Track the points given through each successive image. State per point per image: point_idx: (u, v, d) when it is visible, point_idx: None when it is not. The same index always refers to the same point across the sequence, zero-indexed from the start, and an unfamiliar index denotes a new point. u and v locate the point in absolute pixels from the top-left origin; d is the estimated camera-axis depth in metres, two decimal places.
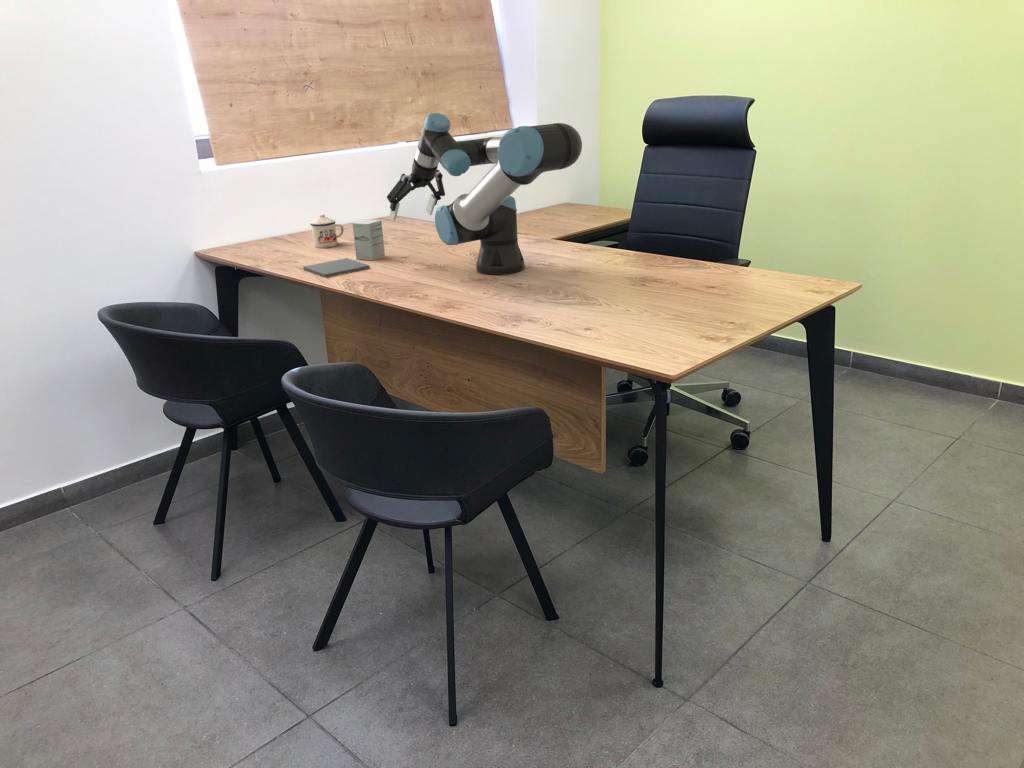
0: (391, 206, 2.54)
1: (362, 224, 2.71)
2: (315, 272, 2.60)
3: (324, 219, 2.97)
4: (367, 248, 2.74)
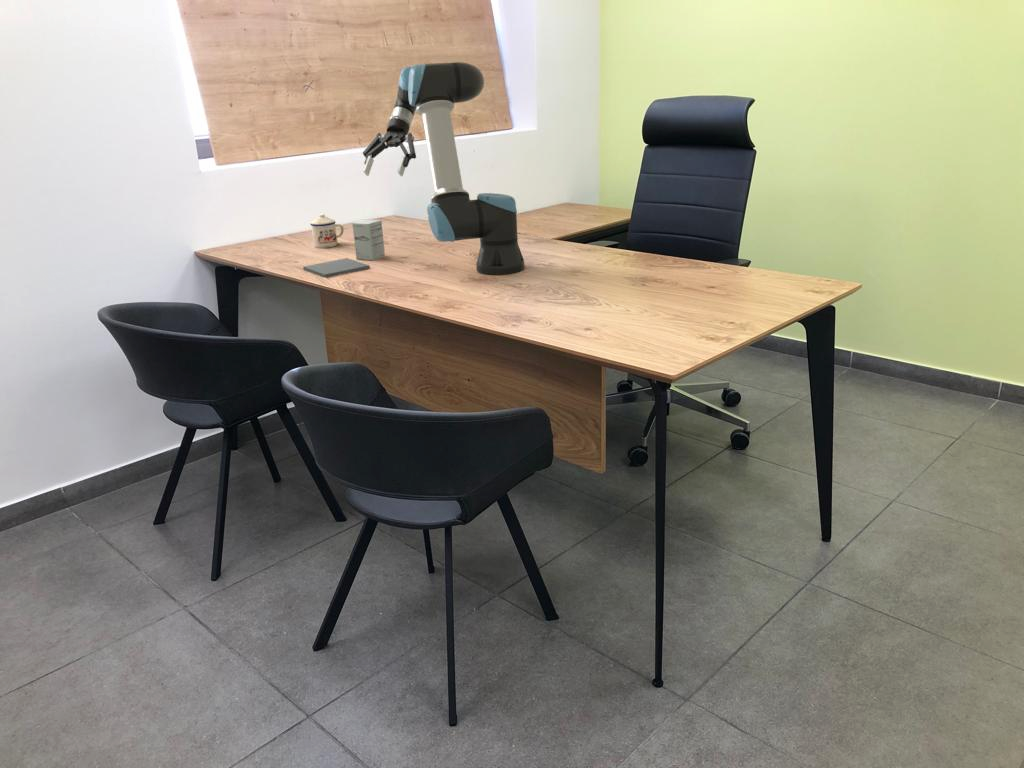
0: None
1: (362, 224, 2.71)
2: (315, 272, 2.60)
3: (324, 219, 2.97)
4: (367, 248, 2.74)
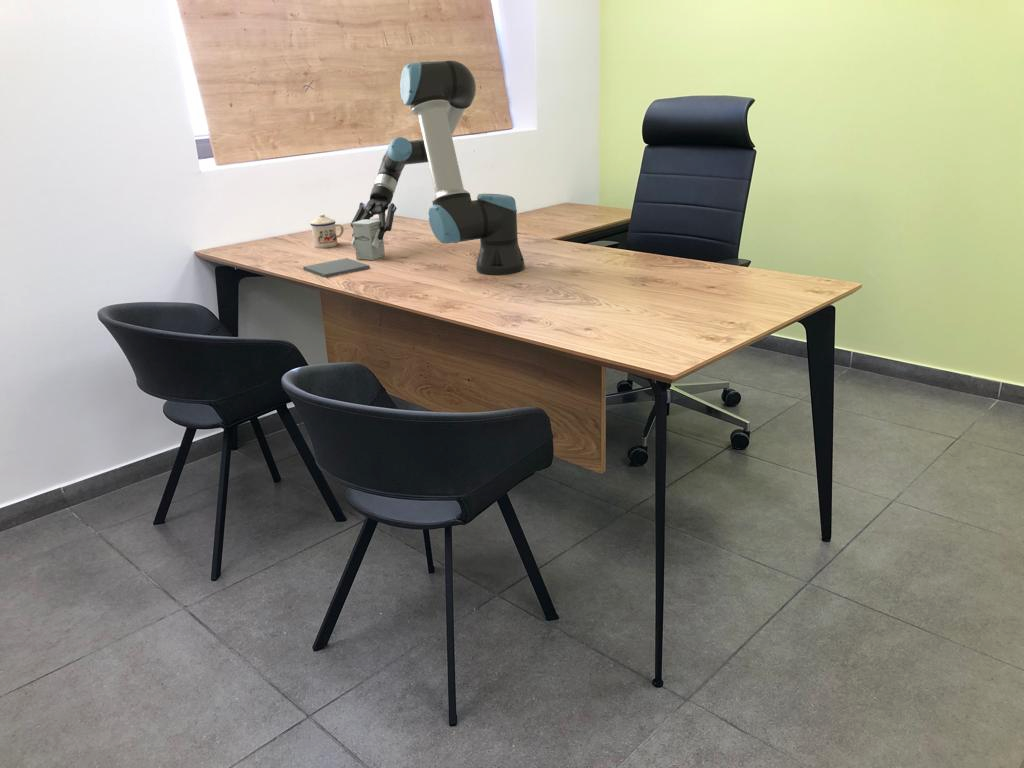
0: None
1: (362, 224, 2.71)
2: (315, 272, 2.60)
3: (324, 219, 2.97)
4: (367, 248, 2.74)
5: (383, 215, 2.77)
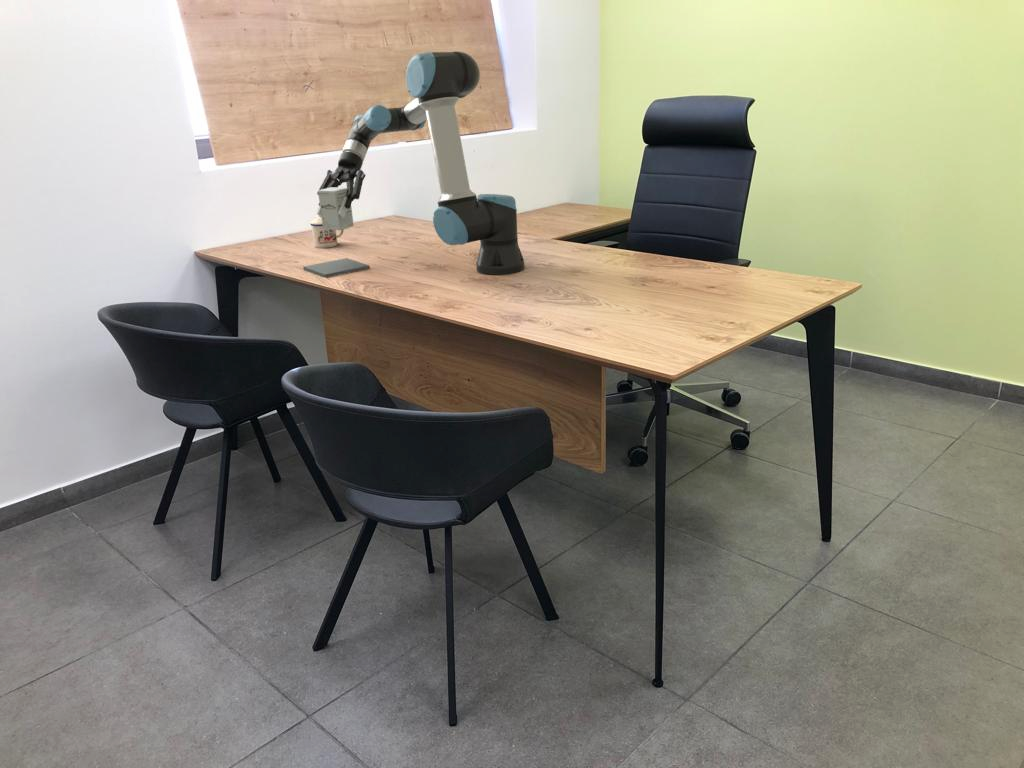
0: None
1: (328, 191, 2.57)
2: (315, 272, 2.60)
3: None
4: (334, 217, 2.59)
5: (351, 183, 2.63)
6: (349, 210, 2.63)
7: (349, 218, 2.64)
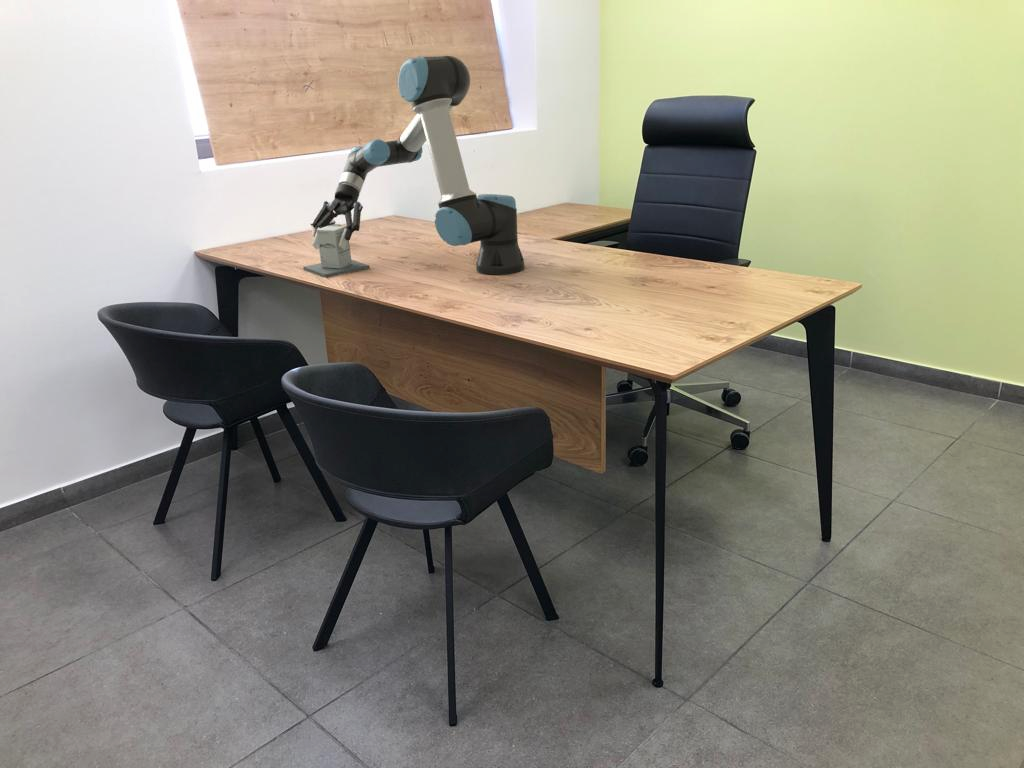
0: None
1: (327, 231, 2.57)
2: (315, 272, 2.60)
3: None
4: (333, 256, 2.60)
5: (349, 215, 2.63)
6: (348, 248, 2.64)
7: (348, 256, 2.64)
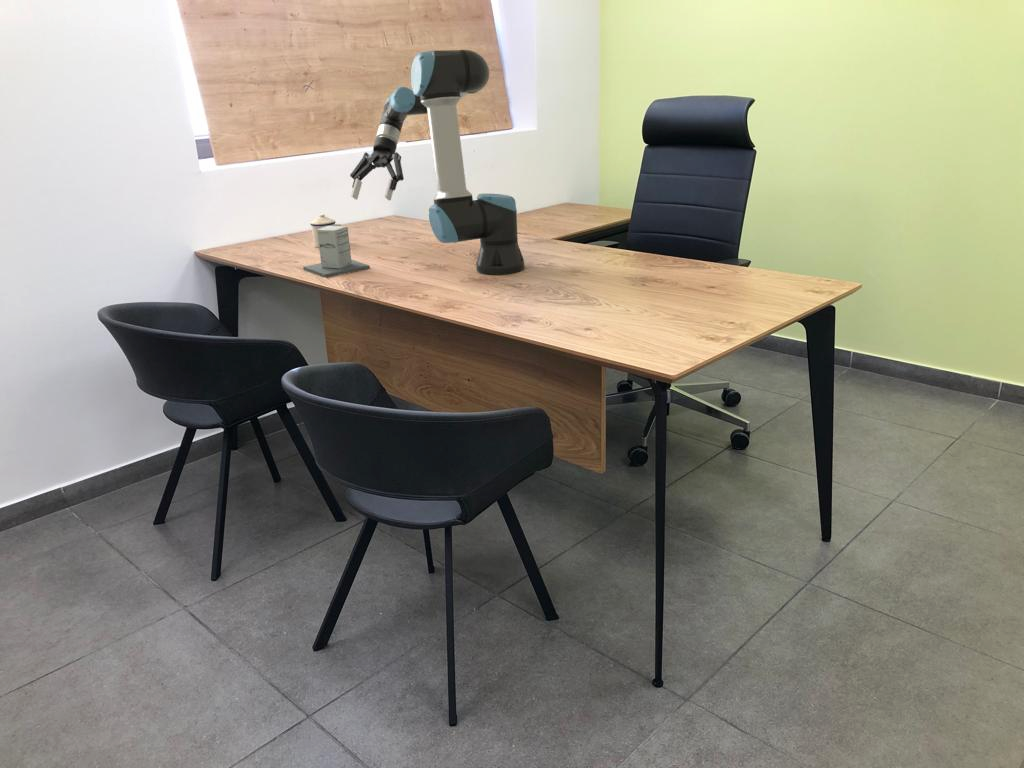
0: None
1: (327, 231, 2.57)
2: (315, 272, 2.60)
3: (324, 219, 2.97)
4: (333, 256, 2.60)
5: (390, 166, 2.72)
6: (348, 248, 2.64)
7: (348, 256, 2.64)
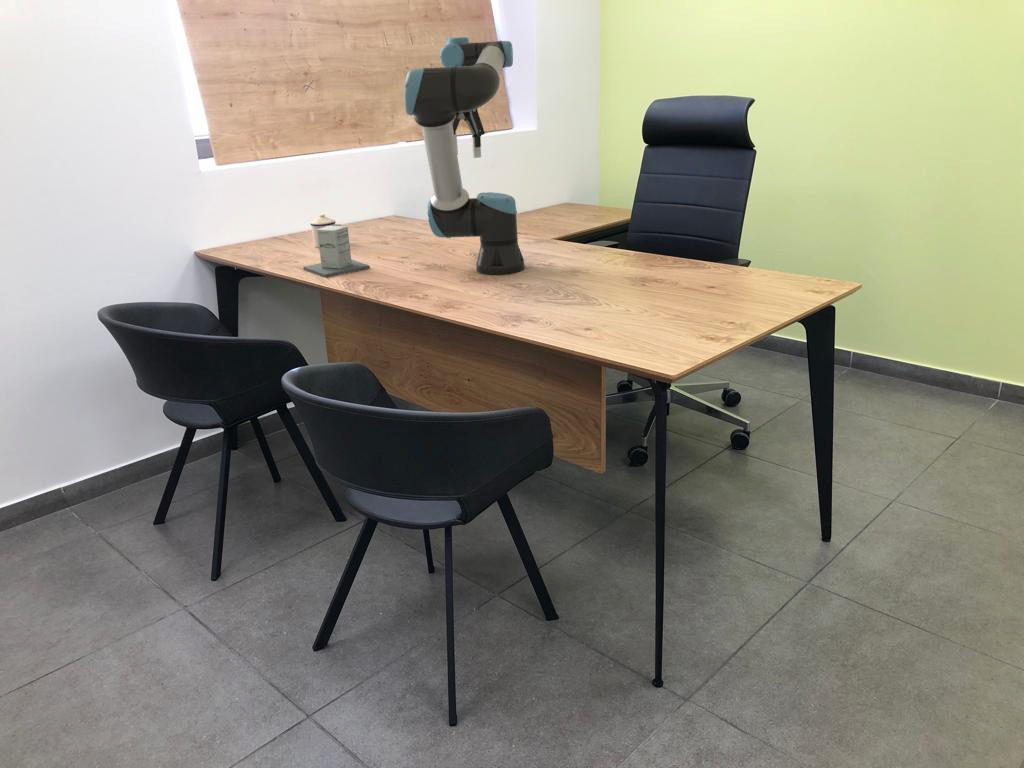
0: None
1: (327, 231, 2.57)
2: (315, 272, 2.60)
3: (324, 219, 2.97)
4: (333, 256, 2.60)
5: (470, 119, 2.63)
6: (348, 248, 2.64)
7: (348, 256, 2.64)
